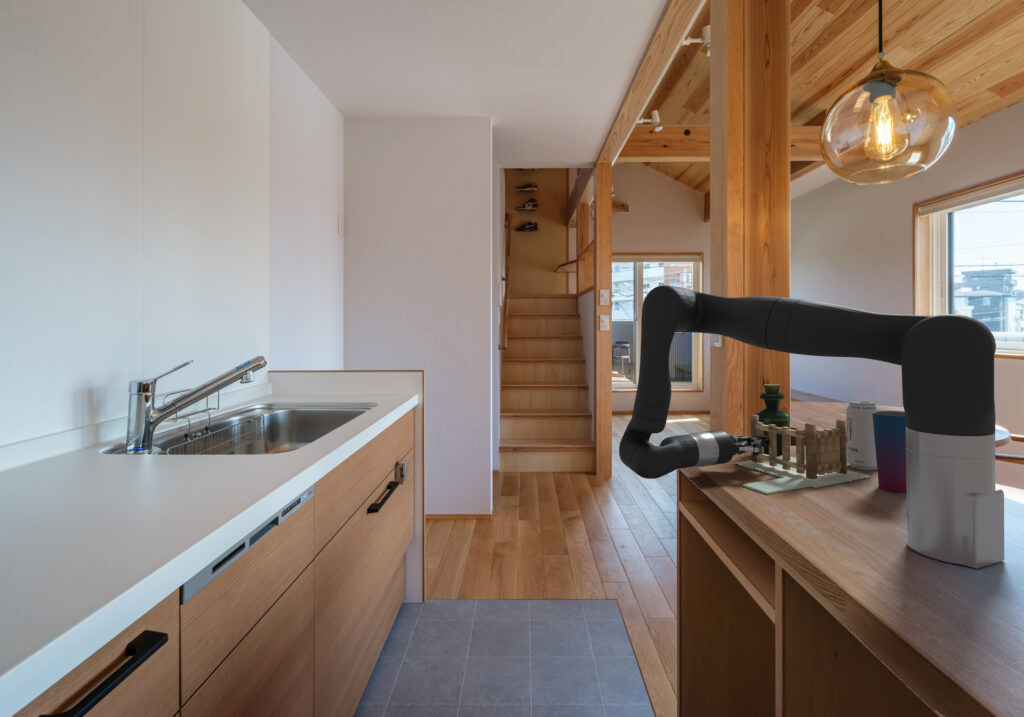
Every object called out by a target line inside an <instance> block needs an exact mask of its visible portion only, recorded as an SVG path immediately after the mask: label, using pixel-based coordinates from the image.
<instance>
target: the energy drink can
mask: <svg viewBox="0 0 1024 717" xmlns="http://www.w3.org/2000/svg"><path fill="white" fill-rule="evenodd" d="M845 411H846V415H845V416H846V443H847V463H848V464H849V466H851V468H852V467H853V469H855V468H856V470H861V469H862V471H863V470H864V471H875V470H877V461H876V450H875V438H874V427H873V416H872V412H873V411H880V410H879V408H878V407H877V405H876V402H875V401H873V400H850V401H849V404H848V406H847V407H846V410H845Z"/></svg>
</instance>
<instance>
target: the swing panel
mask: <svg viewBox="0 0 1024 717" xmlns="http://www.w3.org/2000/svg"><path fill="white" fill-rule="evenodd" d="M749 416H750V417H749V420H750V421H749V422H750V426H749V427H750V437H756V436H764V431H768V432H769V455H767V454H764V447H762V451H761V453H760V454H759V455H757V456H755V455H753V454H752V453H751V452H750V460H751V461H753V462H758V463H764V460H765V461H769V465H770V466H773V467H775V466H777V464H780V465H782V467H783V469H784V470H791V467H792V468H796V470H797V473H799V474H805V470H806V464H805V460H806V452H805V429H800V428H796V429H791V426H790V427H782V428H780V427H776V425H773V424H770V425H763V423H762V422H759V416H758V415H756V414H750V415H749ZM776 433H779V434H782V458H779V457H777V440H776ZM791 437H795V453H796V454H795V458H796V462H795V461H791V460H790V456H791Z"/></svg>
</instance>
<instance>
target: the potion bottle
mask: <svg viewBox="0 0 1024 717" xmlns="http://www.w3.org/2000/svg"><path fill="white" fill-rule="evenodd" d="M763 387H764V391H765V392H761V393H760V395H759V398H760V399H762V400H763V401H764V404H765V408H763V409H761V410H760V411H758V412H757V413H756V414H755V415H758V416H759V422H762V423H763V425H770V424H773V425H776V427H780V428H782V427H790V428H791V426H790V424H791V416H790V415H789V414H788V413H787V412H786V411H784V410H782V409H780V405H781V404H780V403H781V401H782V400H783V399H786V397H785V395H784V393H782V392H780V387H781V384H778V383H766V384H765V383H764V384H763ZM764 436H767V437H769V432H768V431H764ZM776 440H777V455H778V456H781V455H782V434H779V433H776ZM764 454H767V455H769V446H765V447H764Z"/></svg>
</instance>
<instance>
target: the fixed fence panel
mask: <svg viewBox="0 0 1024 717" xmlns="http://www.w3.org/2000/svg"><path fill="white" fill-rule="evenodd" d="M835 424H836V425H835V426H836V427H831V428H823V429H817V424H816V423H812V422H805V423H804V432H805V438H804V449H805V460H806V478H808V479H817V474H818V475H825V473H827V474H831V473H833V472H836V473H837V472H838V473H842V474H847V470H848V464H847V463H848V462H847V419H842V418H841V419H839V418H838V419H836V420H835Z"/></svg>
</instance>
